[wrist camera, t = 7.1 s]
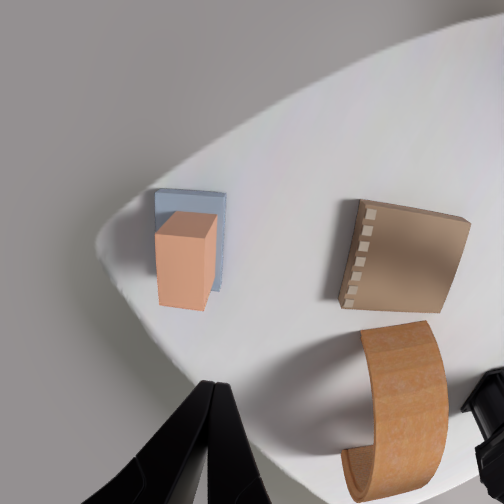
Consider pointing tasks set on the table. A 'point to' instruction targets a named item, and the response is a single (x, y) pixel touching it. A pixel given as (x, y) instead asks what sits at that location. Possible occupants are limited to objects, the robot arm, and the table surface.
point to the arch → (400, 413)
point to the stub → (188, 246)
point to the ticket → (402, 258)
